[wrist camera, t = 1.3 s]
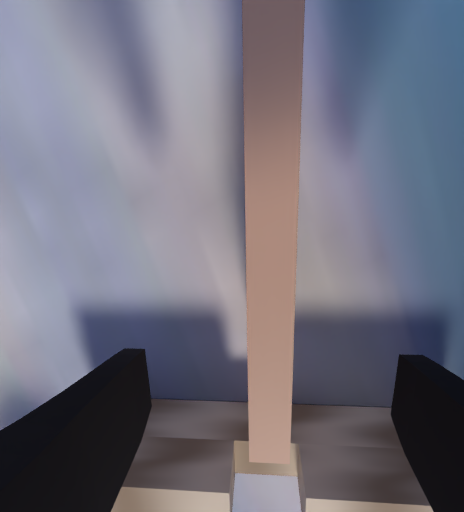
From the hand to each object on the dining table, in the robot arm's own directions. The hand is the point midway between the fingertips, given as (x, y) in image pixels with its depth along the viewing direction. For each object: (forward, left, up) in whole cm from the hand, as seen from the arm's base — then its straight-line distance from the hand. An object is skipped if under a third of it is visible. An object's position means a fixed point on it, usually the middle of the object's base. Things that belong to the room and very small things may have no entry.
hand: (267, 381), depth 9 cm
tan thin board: (0, -3, -7) cm, 7 cm away
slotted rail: (0, +8, -7) cm, 10 cm away
